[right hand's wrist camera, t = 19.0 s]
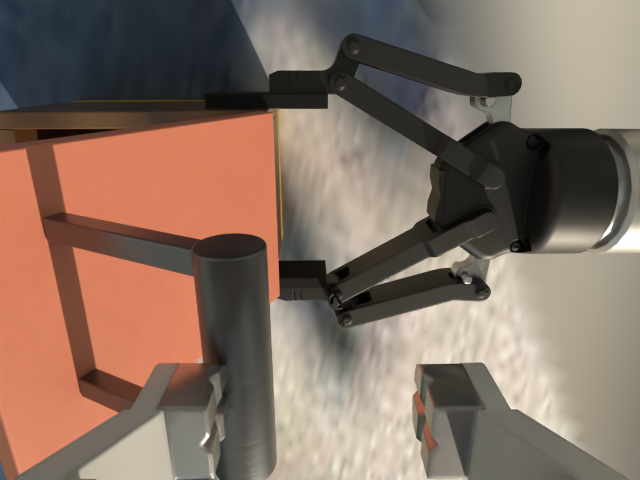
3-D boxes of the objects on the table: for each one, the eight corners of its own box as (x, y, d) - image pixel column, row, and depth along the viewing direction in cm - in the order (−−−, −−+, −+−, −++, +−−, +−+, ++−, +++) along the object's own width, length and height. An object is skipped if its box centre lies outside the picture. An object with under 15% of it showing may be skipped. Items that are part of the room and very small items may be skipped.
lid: (7, 484, 14) (213, 617, 11) (-98, 157, 10) (159, 198, 7) (266, 292, 26) (402, 325, 23) (258, 110, 23) (416, 117, 19)
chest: (103, 237, 35) (35, 293, 26) (79, 100, 31) (-10, 111, 23) (282, 235, 35) (274, 290, 26) (278, 99, 32) (266, 110, 23)
